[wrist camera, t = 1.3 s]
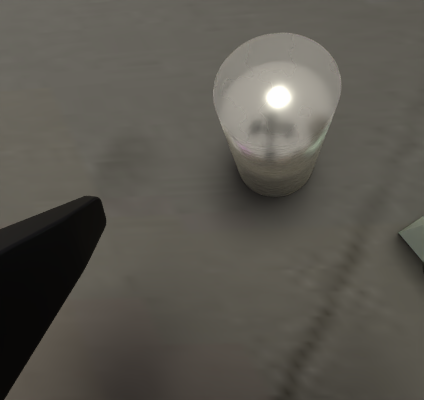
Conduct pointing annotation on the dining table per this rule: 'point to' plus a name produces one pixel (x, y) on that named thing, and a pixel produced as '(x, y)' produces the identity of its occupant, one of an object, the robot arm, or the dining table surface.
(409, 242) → the tray
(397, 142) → the dining table surface
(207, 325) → the dining table surface
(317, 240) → the dining table surface
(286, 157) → the can
